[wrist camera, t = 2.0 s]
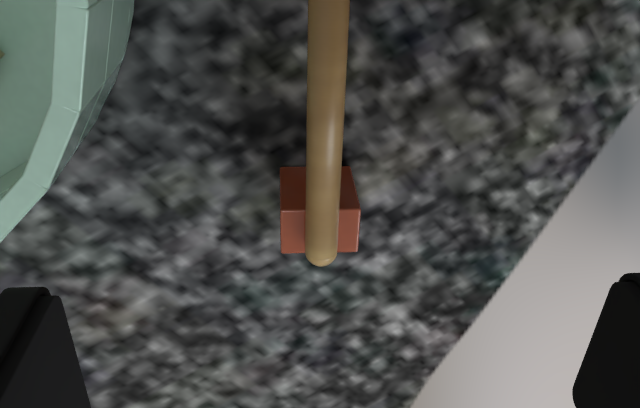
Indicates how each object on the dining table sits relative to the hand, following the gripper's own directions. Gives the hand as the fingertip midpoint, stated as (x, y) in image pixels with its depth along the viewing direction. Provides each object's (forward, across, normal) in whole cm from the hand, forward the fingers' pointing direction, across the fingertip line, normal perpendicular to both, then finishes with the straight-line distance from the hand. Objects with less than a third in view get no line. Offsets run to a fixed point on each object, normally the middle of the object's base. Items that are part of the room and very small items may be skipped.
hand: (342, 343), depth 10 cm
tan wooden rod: (+10, 0, 0) cm, 10 cm away
